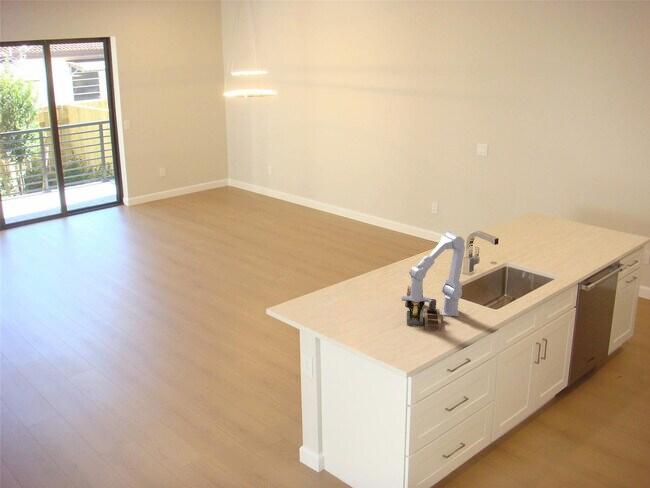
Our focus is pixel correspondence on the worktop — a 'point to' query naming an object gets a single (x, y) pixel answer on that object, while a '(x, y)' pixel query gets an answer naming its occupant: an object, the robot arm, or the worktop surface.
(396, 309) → the worktop surface
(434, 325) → the walnut rack
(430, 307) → the black round bar
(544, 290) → the worktop surface
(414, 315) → the brass round bar
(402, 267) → the worktop surface
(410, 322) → the steel socket
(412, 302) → the ammunition clip
